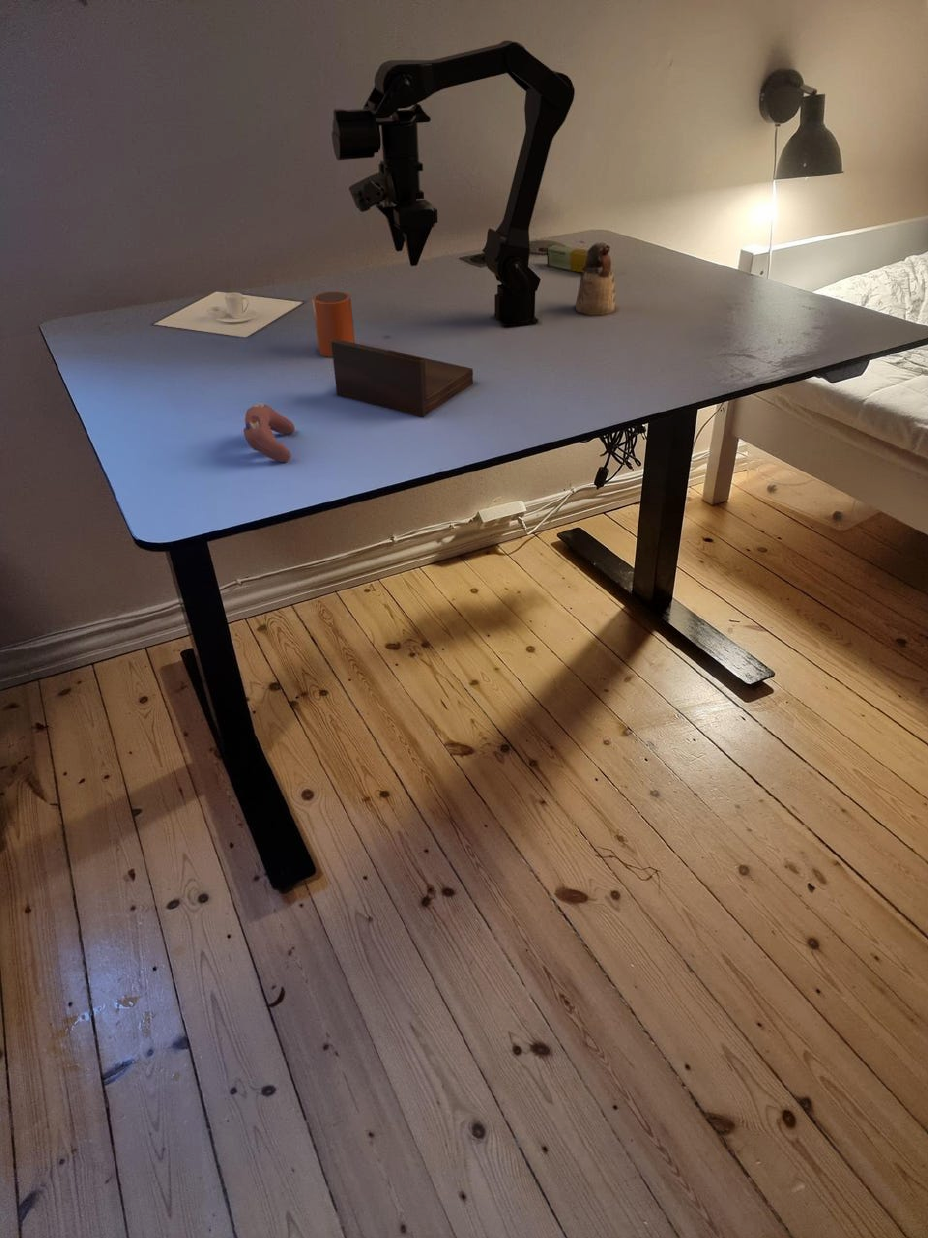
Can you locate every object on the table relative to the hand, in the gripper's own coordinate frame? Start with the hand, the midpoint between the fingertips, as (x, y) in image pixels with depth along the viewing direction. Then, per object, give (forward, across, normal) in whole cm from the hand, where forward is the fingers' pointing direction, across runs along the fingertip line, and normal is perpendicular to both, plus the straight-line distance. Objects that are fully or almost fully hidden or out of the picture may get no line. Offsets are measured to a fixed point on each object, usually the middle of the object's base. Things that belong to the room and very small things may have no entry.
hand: (406, 257), depth 150 cm
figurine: (+13, 0, +36) cm, 38 cm away
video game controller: (+13, +36, -30) cm, 49 cm away
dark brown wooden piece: (+13, +23, -7) cm, 27 cm away
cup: (+13, +3, -14) cm, 19 cm away
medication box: (+13, -24, +42) cm, 50 cm away
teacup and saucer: (+13, -23, -29) cm, 39 cm away
